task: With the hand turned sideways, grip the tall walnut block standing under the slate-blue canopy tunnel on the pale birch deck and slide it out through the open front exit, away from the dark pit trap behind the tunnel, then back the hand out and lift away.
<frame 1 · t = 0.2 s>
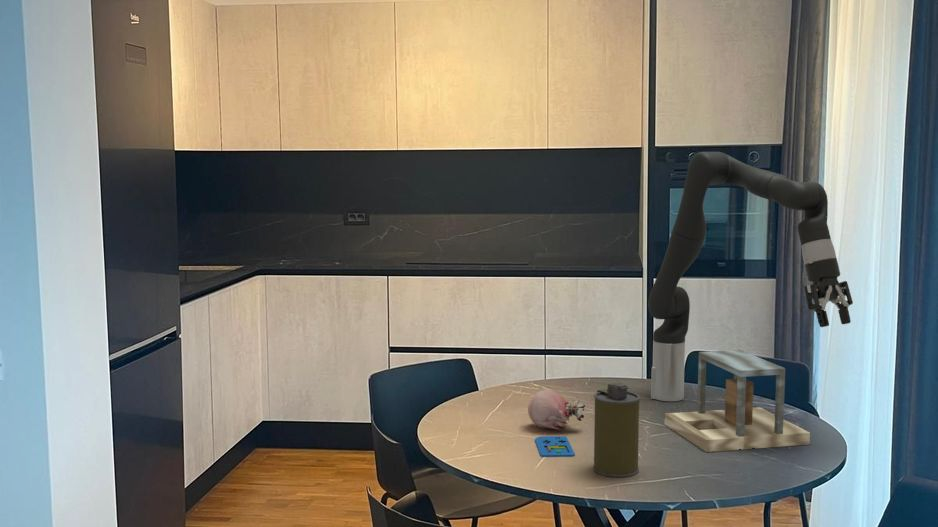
hand: (835, 325, 224), 31 cm above the table, tool tilted 20°, fingers open, 8 cm apart
canister: (615, 470, 212), on the table
toy: (556, 428, 244), on the table
handheld gaming device: (553, 449, 228), on the table
walnut block: (738, 422, 238), point 3 cm above the table, touching tunnel deck
tunnel deck: (737, 433, 239), on the table
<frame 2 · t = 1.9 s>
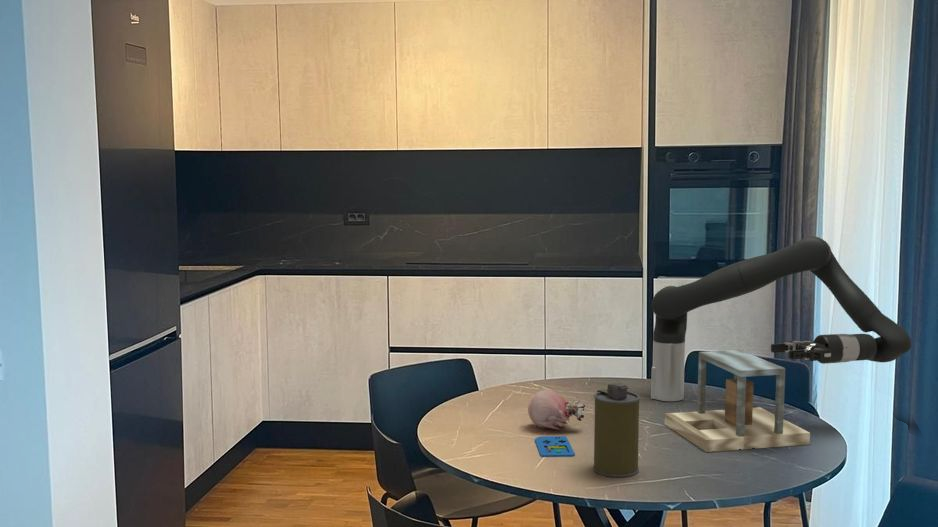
hand: (780, 351, 239), 21 cm above the table, tool horizontal, fingers open, 8 cm apart
nothing on the table moved.
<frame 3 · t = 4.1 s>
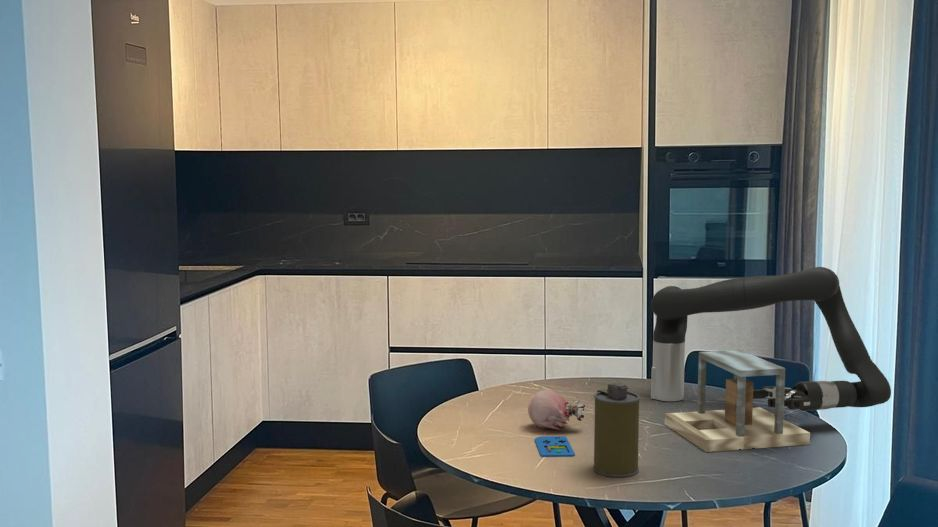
hand: (759, 398, 239), 9 cm above the table, tool horizontal, fingers open, 8 cm apart
nothing on the table moved.
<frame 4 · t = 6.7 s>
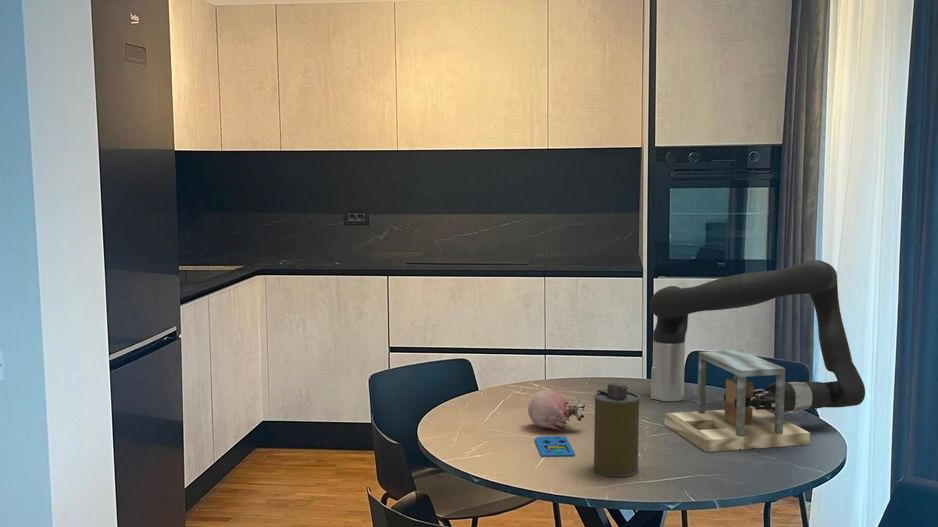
hand: (729, 400, 237), 9 cm above the table, tool horizontal, fingers closed on walnut block, 5 cm apart
walnut block: (738, 422, 238), point 3 cm above the table, touching gripper, tunnel deck
everything else where it was.
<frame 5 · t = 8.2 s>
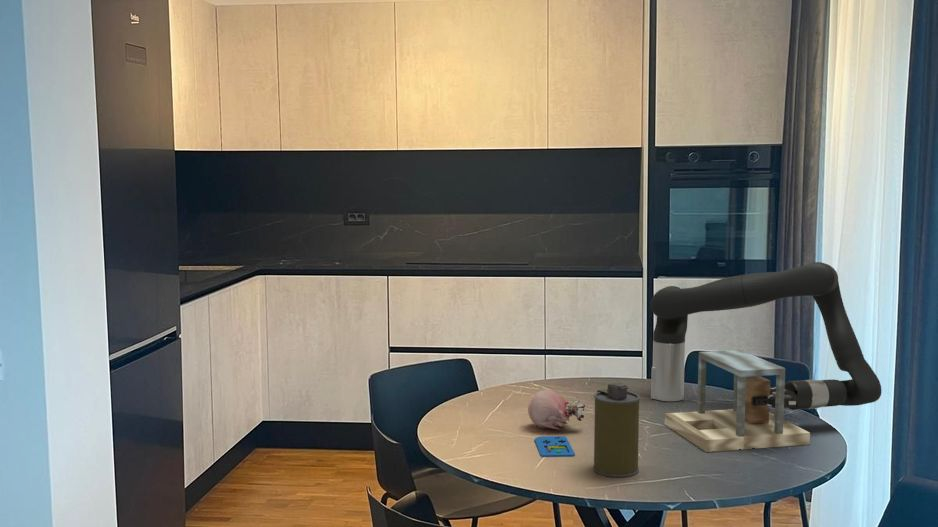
hand: (746, 398, 238), 9 cm above the table, tool horizontal, fingers closed on walnut block, 5 cm apart
walnut block: (755, 420, 239), point 3 cm above the table, touching gripper
everything else where it was.
when the fingers open (9 cm above the table, at t = 10.2 s): walnut block stays where it is, resting on tunnel deck.
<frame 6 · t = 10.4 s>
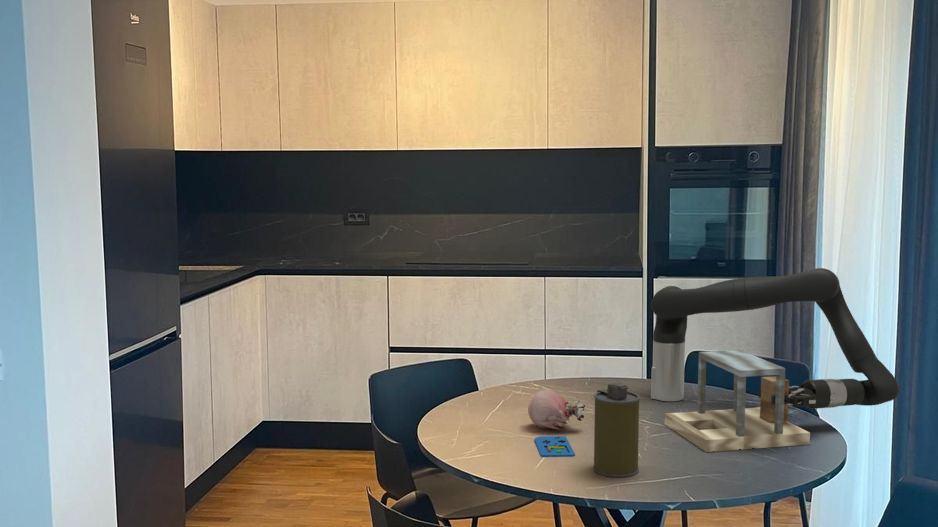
hand: (766, 397, 239), 9 cm above the table, tool horizontal, fingers open, 6 cm apart
walnut block: (773, 420, 240), point 3 cm above the table, touching tunnel deck
everything else where it was.
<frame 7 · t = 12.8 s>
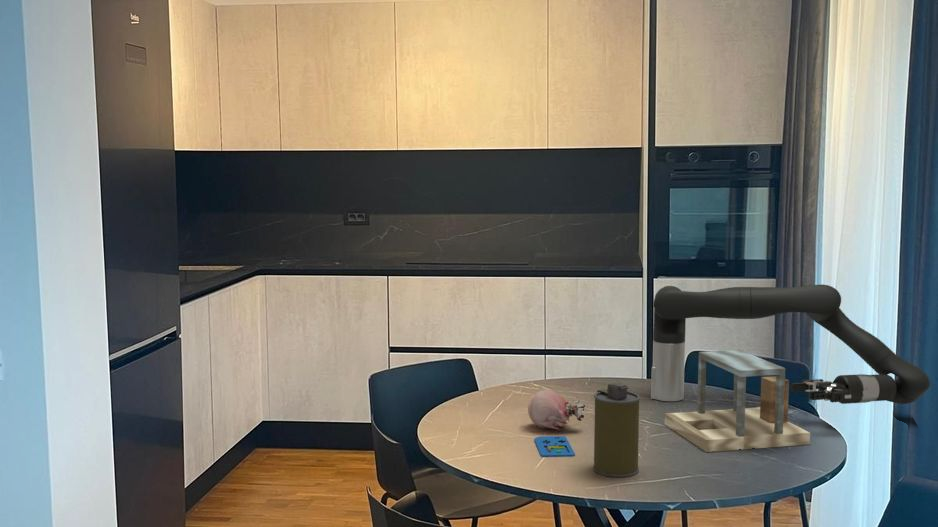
hand: (800, 391, 242), 10 cm above the table, tool horizontal, fingers open, 8 cm apart
nothing on the table moved.
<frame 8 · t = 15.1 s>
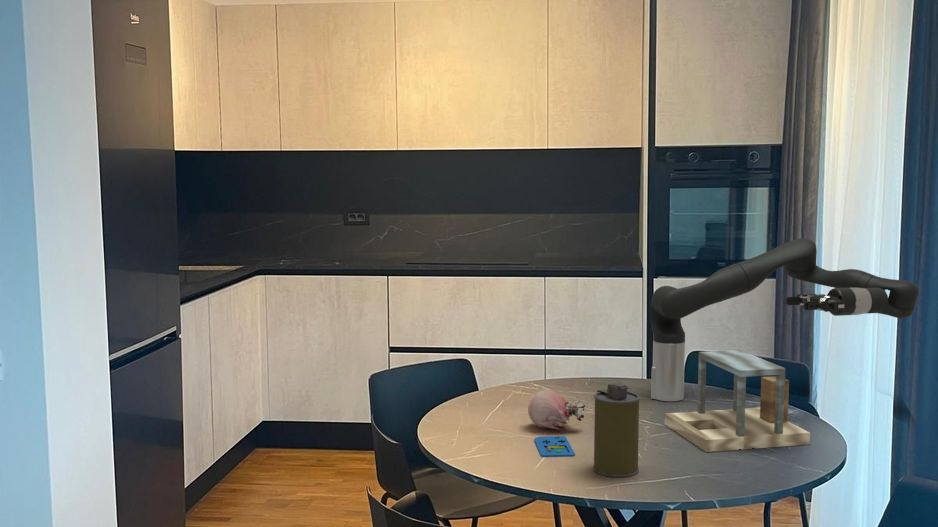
hand: (795, 303, 248), 32 cm above the table, tool horizontal, fingers open, 8 cm apart
nothing on the table moved.
at the end: walnut block inside the target area on the tunnel deck (1.3 cm from its centre), point 3.0 cm above the tunnel deck's base; walnut block tilted 0°; the gripper is holding nothing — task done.
